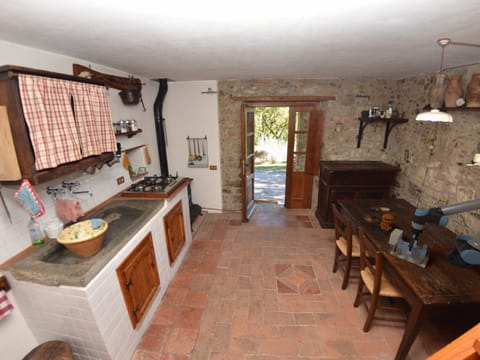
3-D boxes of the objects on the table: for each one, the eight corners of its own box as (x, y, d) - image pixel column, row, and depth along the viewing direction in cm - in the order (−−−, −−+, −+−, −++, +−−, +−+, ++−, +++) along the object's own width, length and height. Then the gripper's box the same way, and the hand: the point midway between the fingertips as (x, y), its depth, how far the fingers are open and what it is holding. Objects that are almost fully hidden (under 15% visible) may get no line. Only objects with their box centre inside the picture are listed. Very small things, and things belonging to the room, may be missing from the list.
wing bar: (400, 240, 201) (403, 230, 198) (396, 246, 192) (399, 236, 189) (393, 237, 205) (395, 228, 202) (388, 243, 196) (391, 233, 193)
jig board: (428, 259, 175) (430, 252, 173) (424, 268, 165) (426, 261, 163) (395, 246, 191) (397, 240, 190) (389, 253, 181) (391, 247, 180)
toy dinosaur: (385, 232, 212) (389, 216, 207) (376, 227, 222) (379, 211, 217) (394, 231, 215) (398, 215, 210) (384, 226, 225) (388, 210, 220)
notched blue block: (423, 257, 175) (427, 243, 171) (423, 262, 170) (427, 247, 166) (396, 248, 186) (400, 235, 182) (395, 252, 181) (399, 239, 177)
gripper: (415, 220, 180) (409, 242, 187) (407, 231, 165) (401, 254, 171) (426, 224, 175) (420, 246, 181) (419, 235, 159) (413, 259, 166)
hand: (411, 250), depth 176 cm, fingers open, 13 cm apart
